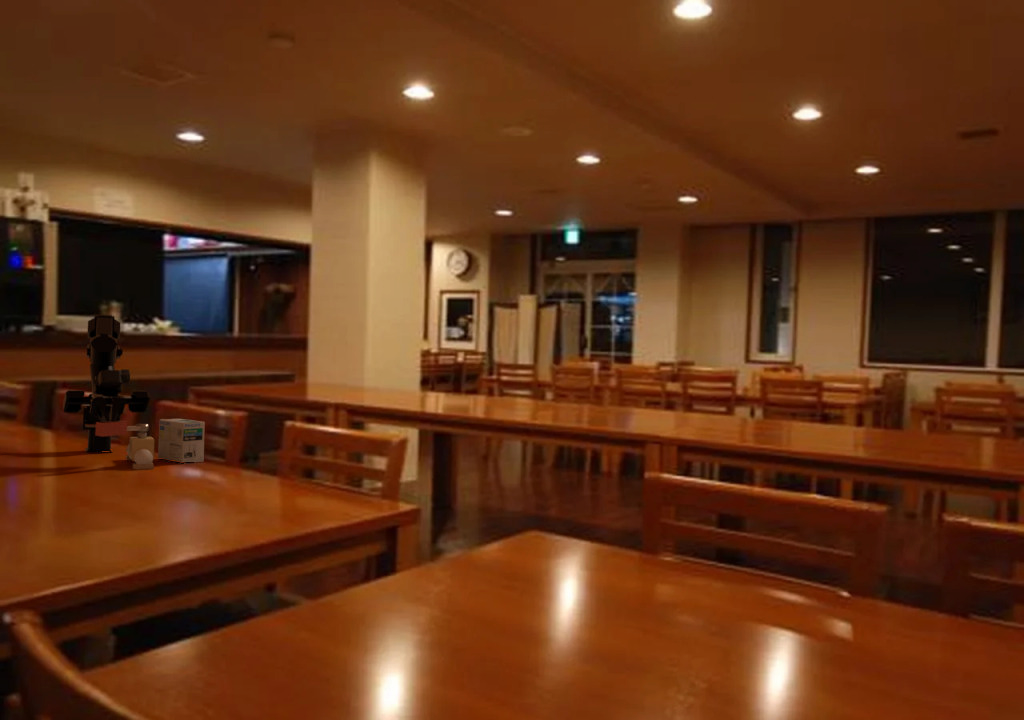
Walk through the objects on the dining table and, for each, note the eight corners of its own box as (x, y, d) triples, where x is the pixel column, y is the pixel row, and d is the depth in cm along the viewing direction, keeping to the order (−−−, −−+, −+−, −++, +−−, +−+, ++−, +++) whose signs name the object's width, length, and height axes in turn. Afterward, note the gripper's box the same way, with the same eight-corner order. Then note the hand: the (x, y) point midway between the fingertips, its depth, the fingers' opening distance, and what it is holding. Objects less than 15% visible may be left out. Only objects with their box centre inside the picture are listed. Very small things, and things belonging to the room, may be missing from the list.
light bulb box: (204, 462, 214) (206, 421, 214) (182, 464, 208) (183, 422, 208) (178, 457, 220) (180, 417, 220) (156, 459, 214) (158, 418, 214)
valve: (124, 459, 211) (125, 426, 211) (144, 458, 214) (146, 426, 214) (132, 469, 197) (133, 434, 197) (154, 468, 199) (156, 434, 199)
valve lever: (95, 435, 193) (95, 421, 193) (143, 431, 204) (144, 419, 204) (102, 436, 192) (102, 423, 192) (150, 433, 203) (151, 420, 203)
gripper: (66, 356, 195) (72, 406, 187) (149, 359, 206) (158, 406, 198) (60, 387, 202) (65, 436, 193) (141, 388, 213) (149, 434, 204)
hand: (110, 427), depth 197 cm, fingers closed
